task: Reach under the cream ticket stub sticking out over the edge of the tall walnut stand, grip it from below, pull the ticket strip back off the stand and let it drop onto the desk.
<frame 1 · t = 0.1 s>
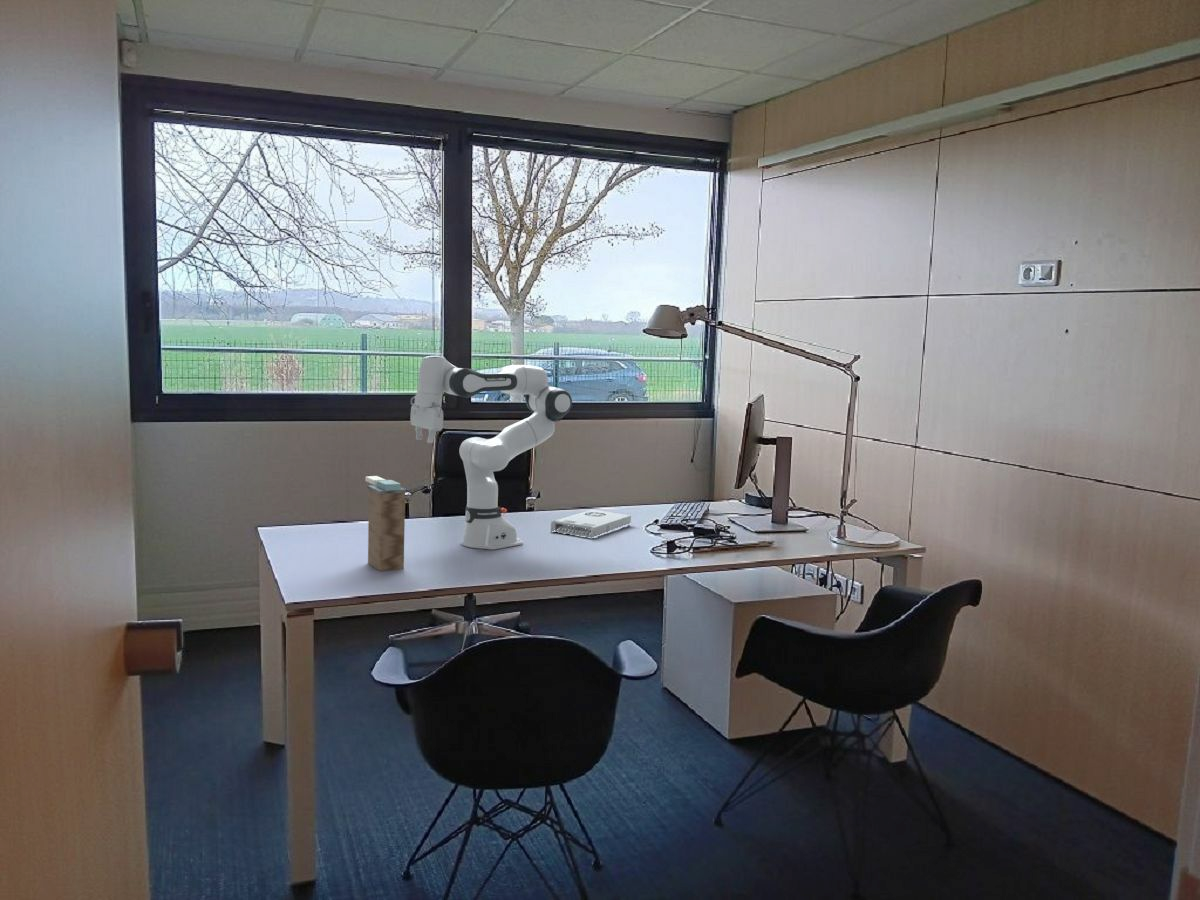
hand: (424, 441, 307), 39 cm above the table, fingers open, 8 cm apart
power supply unit: (591, 530, 360), on the table
walnut stand: (385, 565, 289), on the table
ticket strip: (381, 485, 289), point 26 cm above the table, touching walnut stand
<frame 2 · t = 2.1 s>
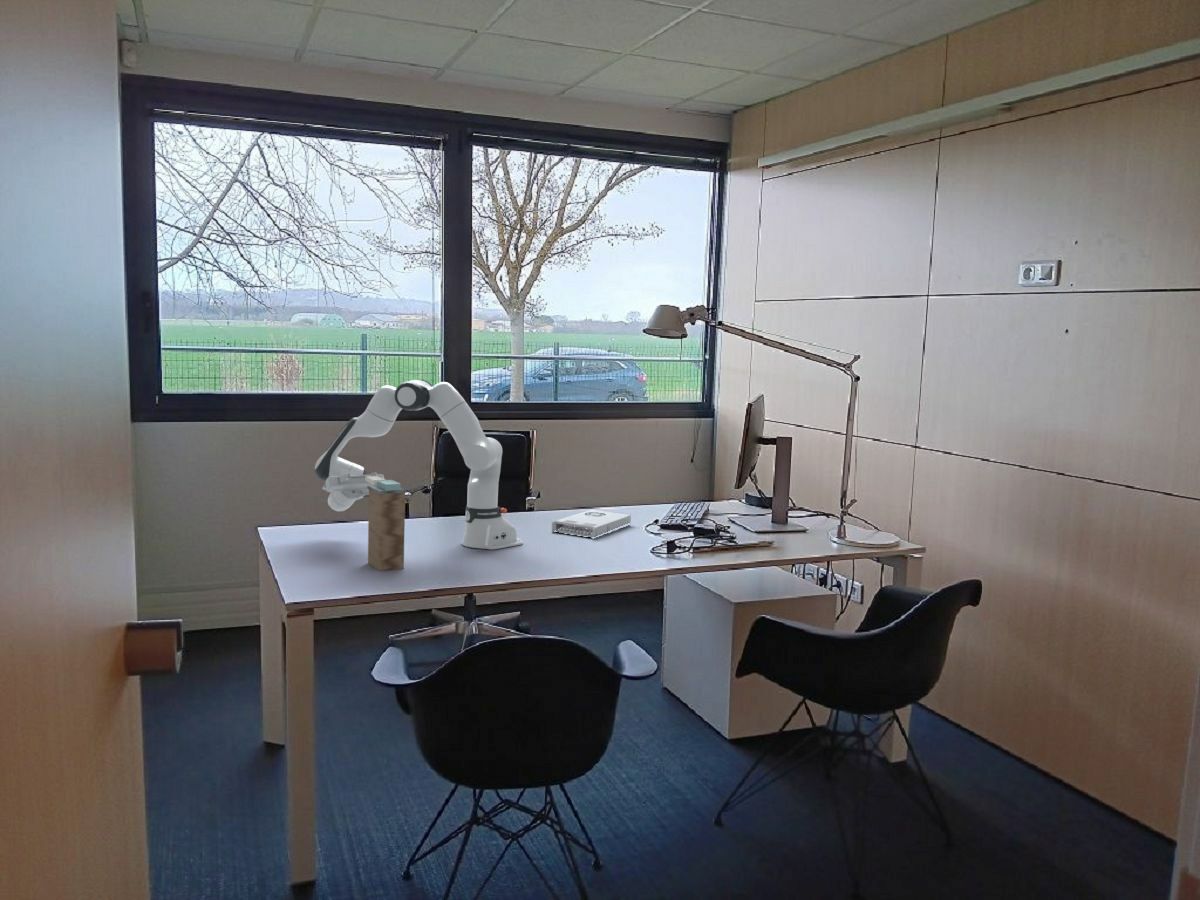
hand: (361, 474, 305), 27 cm above the table, fingers open, 8 cm apart
nothing on the table moved.
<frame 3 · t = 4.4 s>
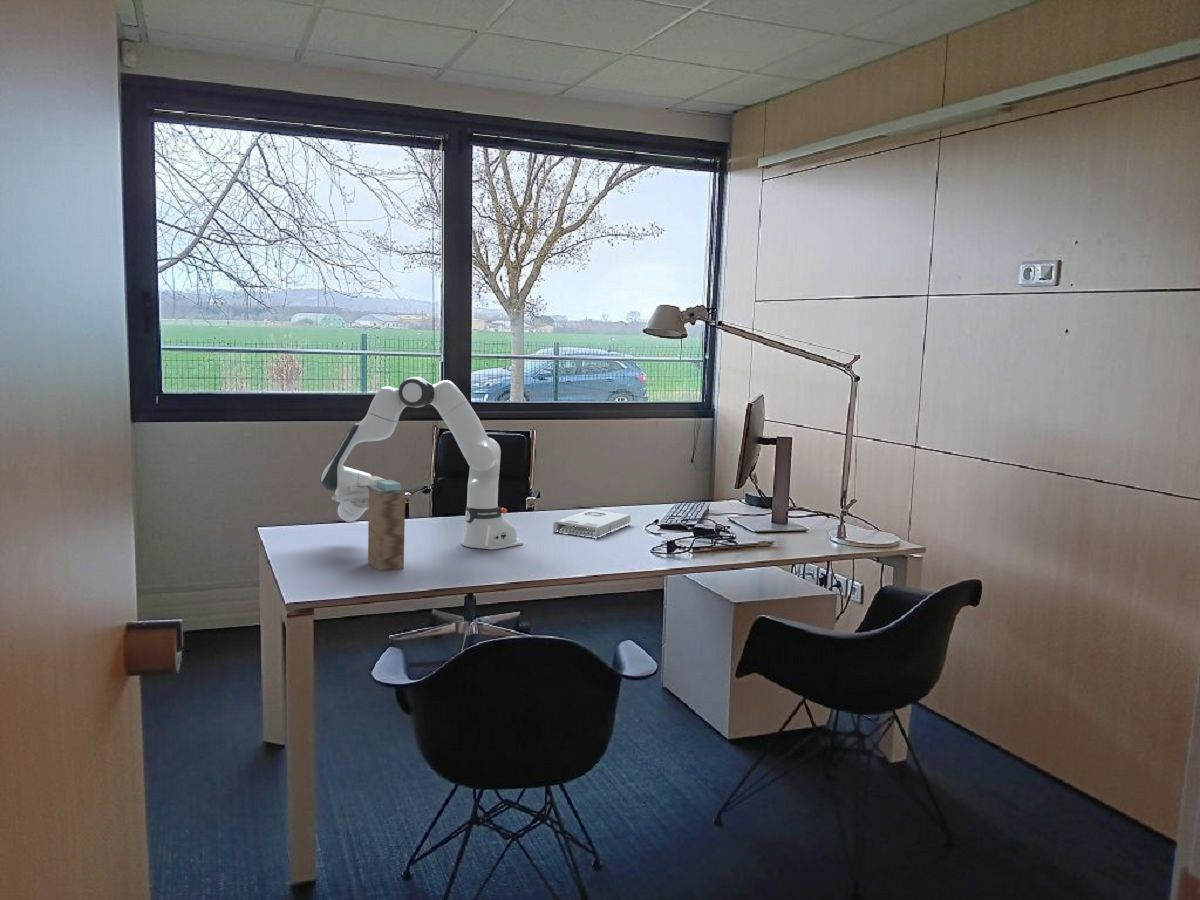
hand: (372, 483, 297), 25 cm above the table, fingers open, 8 cm apart
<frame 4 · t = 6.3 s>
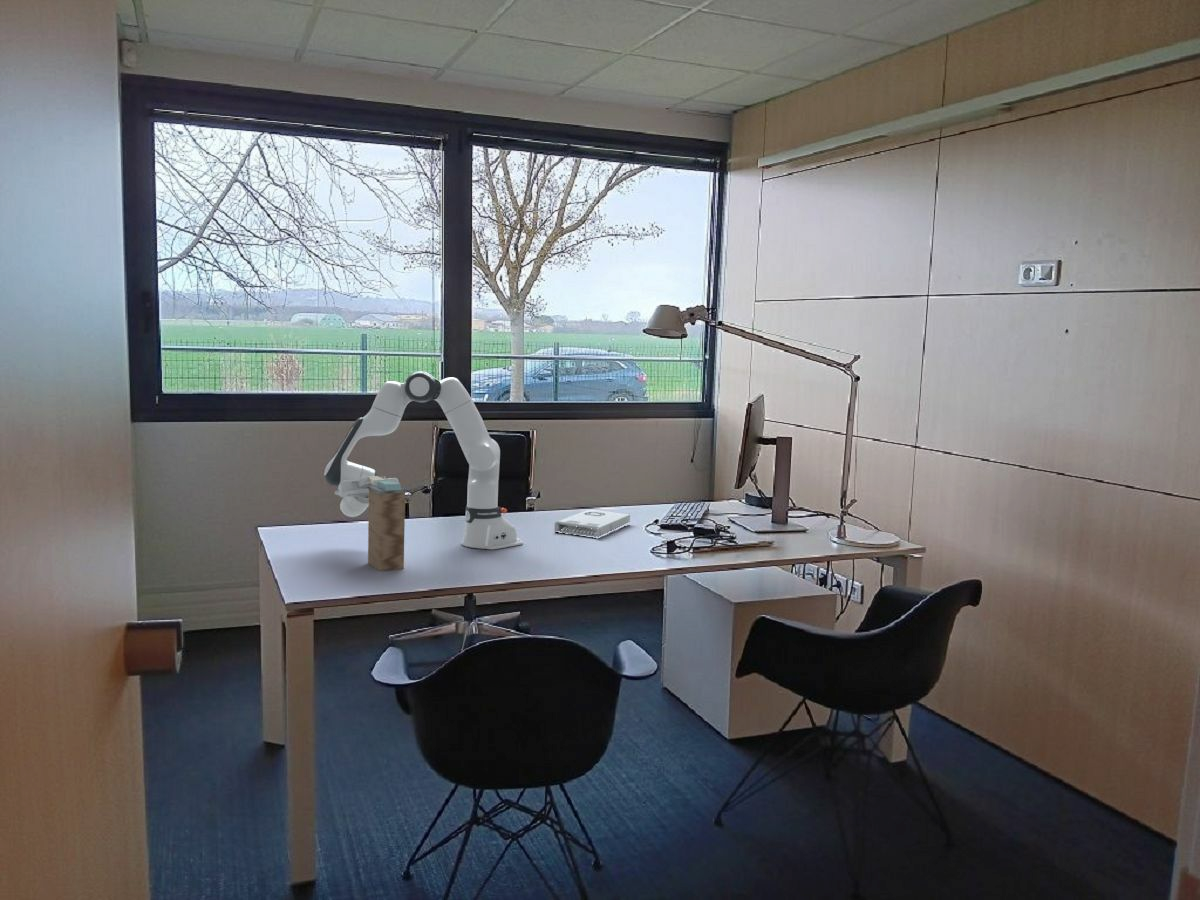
hand: (375, 478, 294), 27 cm above the table, fingers closed on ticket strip, 4 cm apart
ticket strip: (381, 485, 289), point 26 cm above the table, touching gripper, walnut stand
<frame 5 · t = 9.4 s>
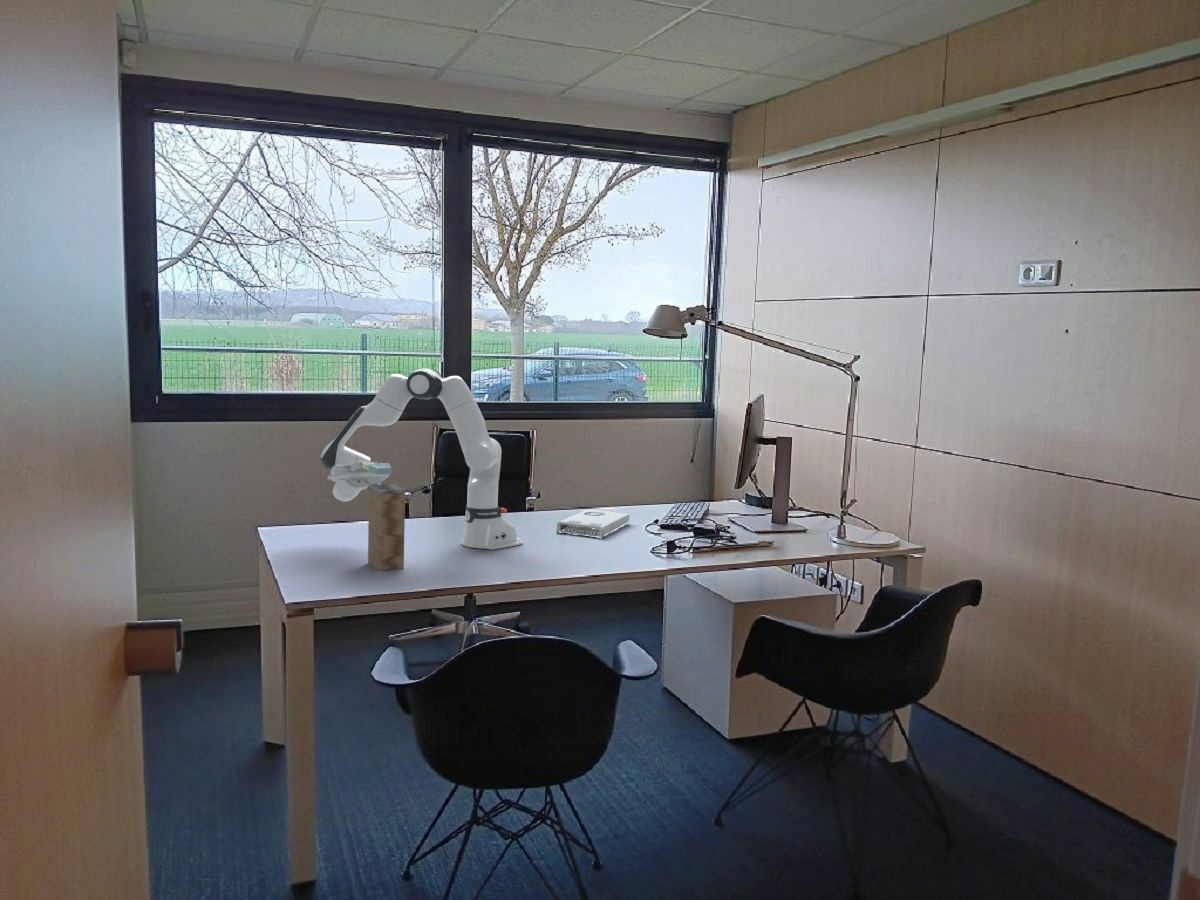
hand: (367, 463, 300), 31 cm above the table, fingers closed on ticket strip, 4 cm apart
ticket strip: (373, 469, 295), point 30 cm above the table, touching gripper
when the fingers open (20 cm above the table, at t = 12.7 s): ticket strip drops 19 cm, on the table.
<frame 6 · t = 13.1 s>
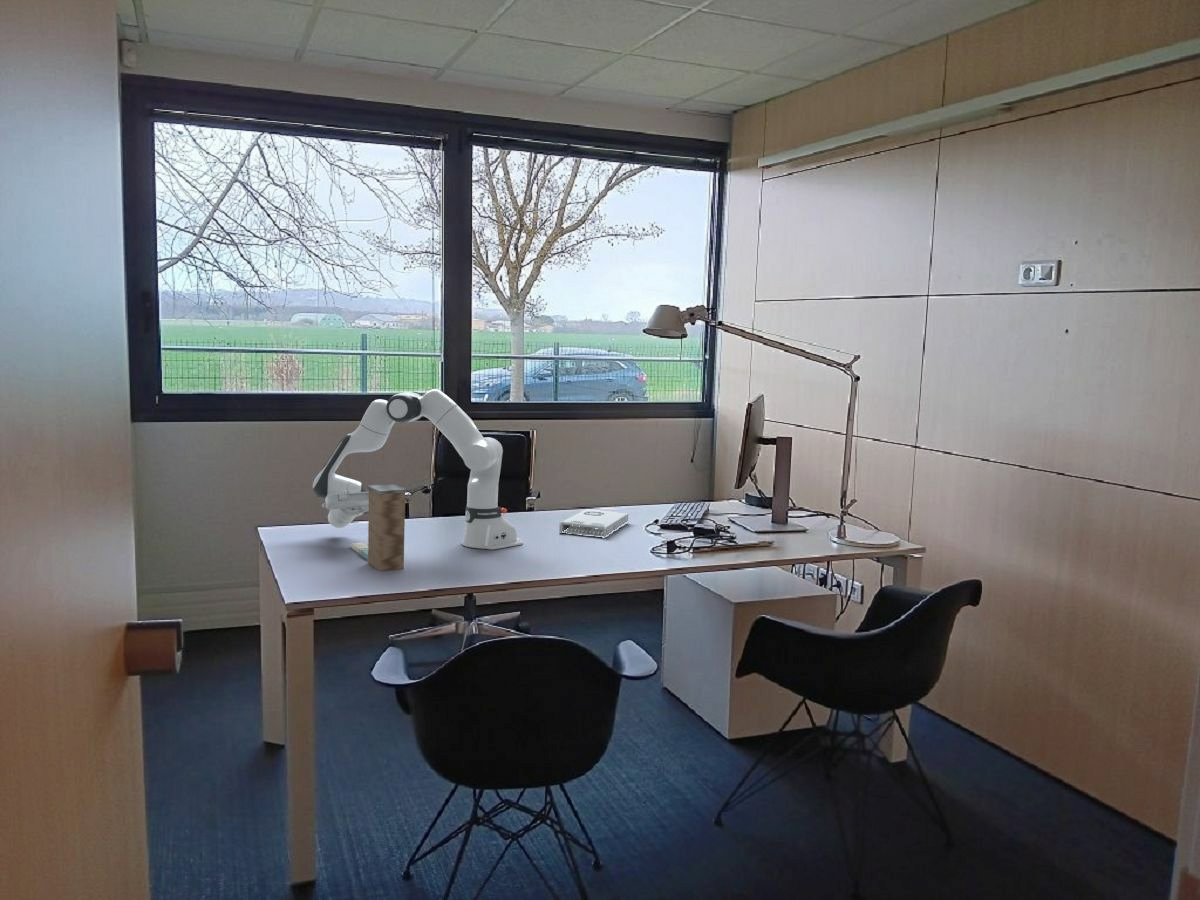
hand: (361, 492, 306), 20 cm above the table, fingers open, 8 cm apart
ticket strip: (365, 553, 305), on the table
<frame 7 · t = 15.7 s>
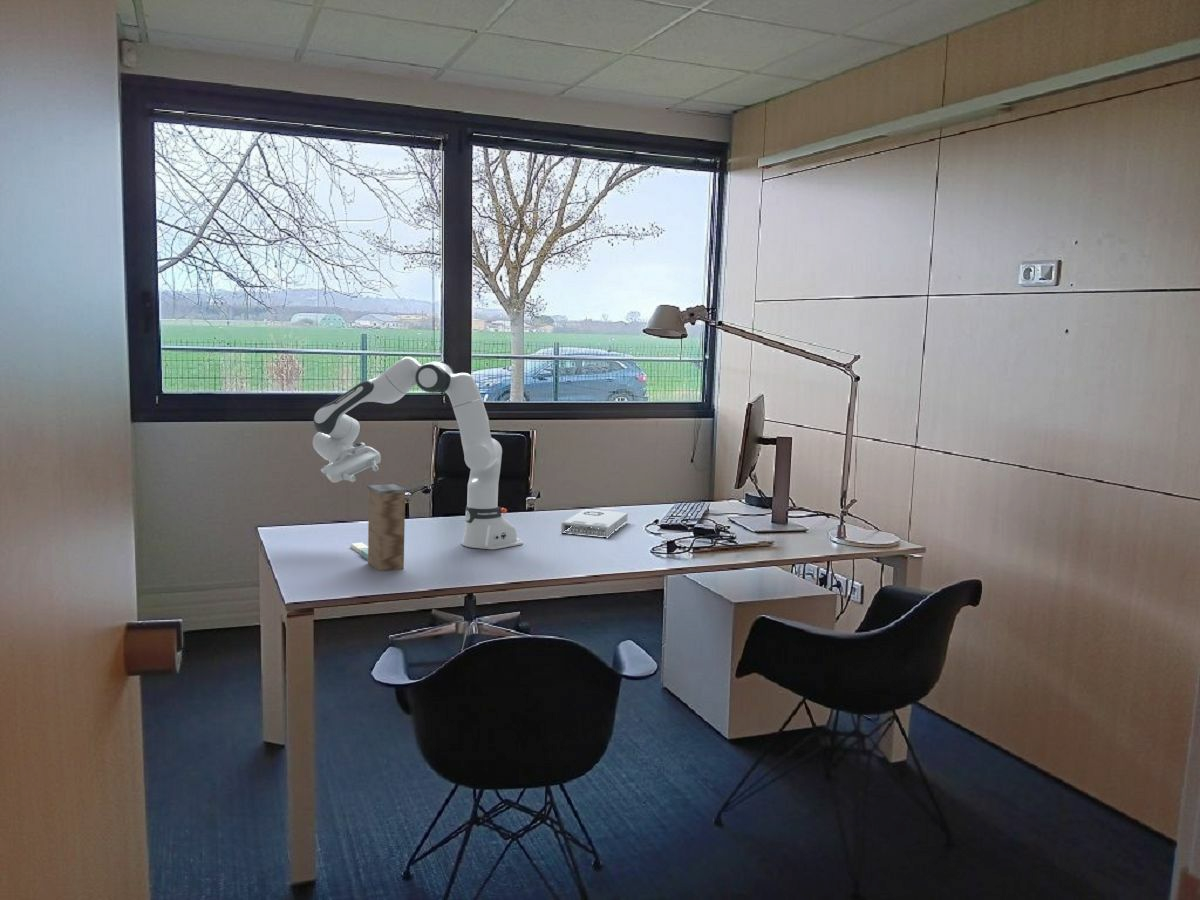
hand: (365, 474, 311), 26 cm above the table, fingers open, 8 cm apart
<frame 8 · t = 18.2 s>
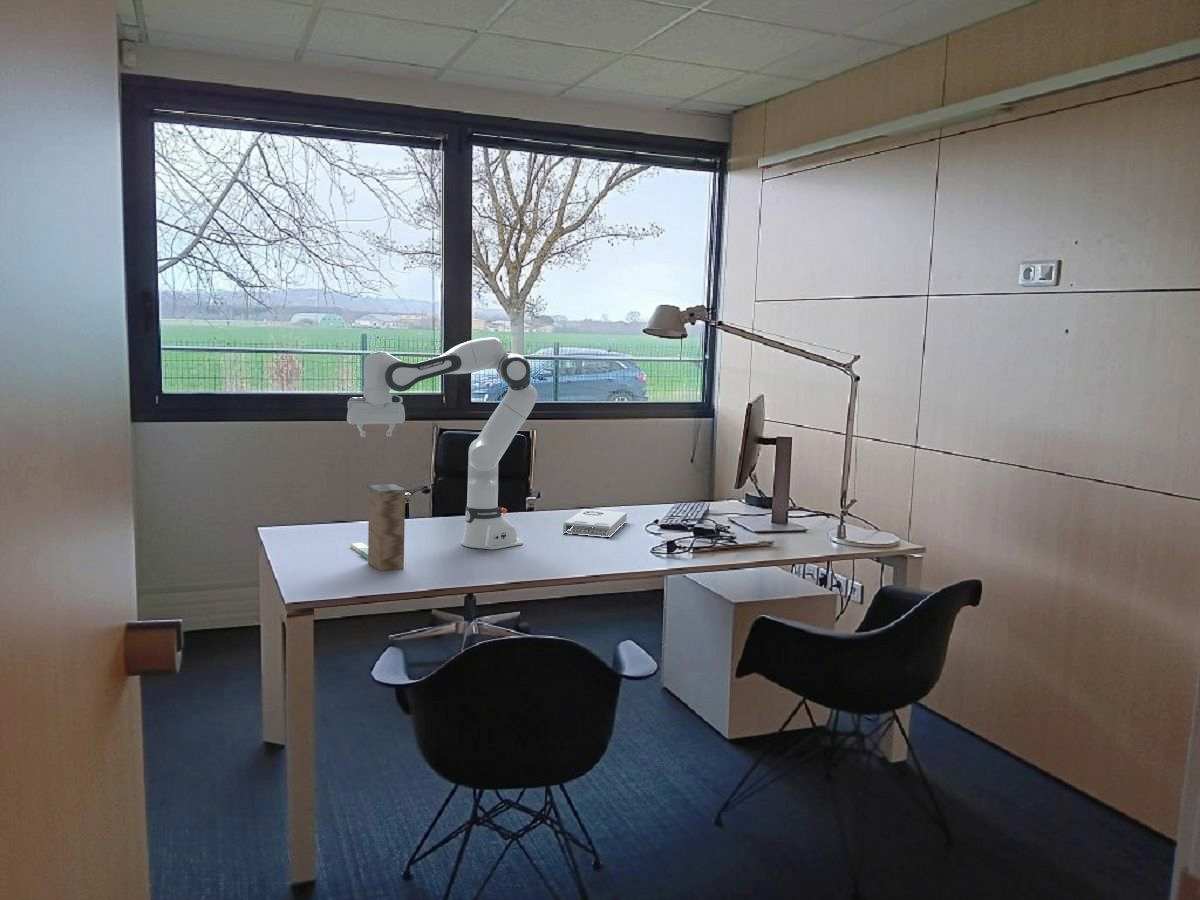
hand: (376, 436, 312), 39 cm above the table, fingers open, 8 cm apart
at the end: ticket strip touching table; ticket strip on the table; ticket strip moved 29.9 cm from its start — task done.
